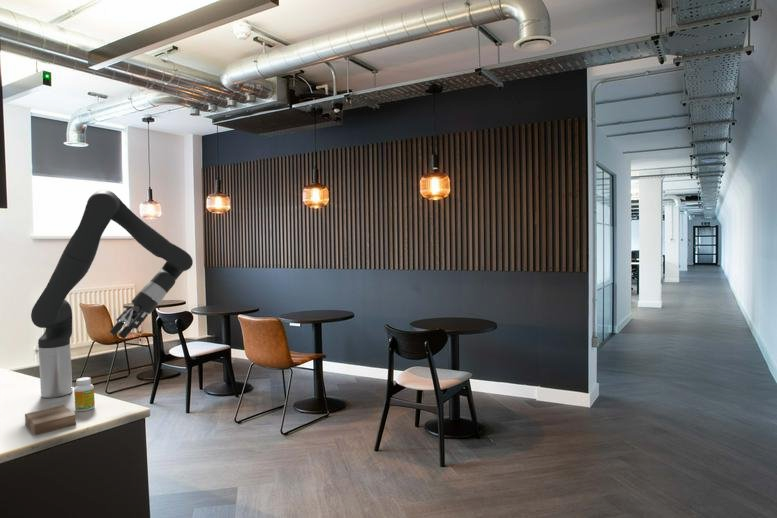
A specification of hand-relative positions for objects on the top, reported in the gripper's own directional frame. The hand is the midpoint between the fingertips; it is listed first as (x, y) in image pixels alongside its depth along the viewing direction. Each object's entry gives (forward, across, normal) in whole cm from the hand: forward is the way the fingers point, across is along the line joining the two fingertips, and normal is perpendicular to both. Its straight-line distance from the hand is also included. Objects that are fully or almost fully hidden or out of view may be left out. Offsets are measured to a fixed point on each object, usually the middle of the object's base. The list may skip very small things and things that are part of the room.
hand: (116, 335), depth 170 cm
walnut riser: (+31, +9, -1) cm, 32 cm away
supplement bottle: (+23, +2, +7) cm, 25 cm away
